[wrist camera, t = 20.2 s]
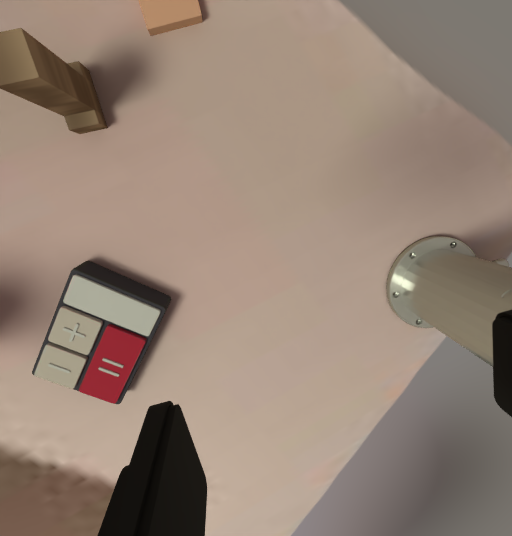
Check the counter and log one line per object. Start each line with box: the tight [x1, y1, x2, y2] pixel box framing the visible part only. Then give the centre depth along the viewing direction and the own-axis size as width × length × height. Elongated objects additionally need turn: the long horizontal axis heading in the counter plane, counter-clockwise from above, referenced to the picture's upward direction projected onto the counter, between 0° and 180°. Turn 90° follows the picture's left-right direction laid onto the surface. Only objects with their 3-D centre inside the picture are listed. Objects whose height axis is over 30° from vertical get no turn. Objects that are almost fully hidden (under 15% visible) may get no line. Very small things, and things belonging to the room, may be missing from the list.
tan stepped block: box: [0, 28, 107, 134], centre depth 27 cm, size 3×6×12 cm, turn 13°
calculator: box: [32, 261, 171, 404], centre depth 38 cm, size 11×4×15 cm
